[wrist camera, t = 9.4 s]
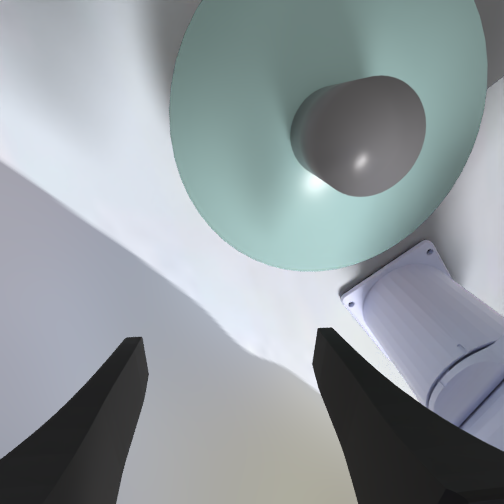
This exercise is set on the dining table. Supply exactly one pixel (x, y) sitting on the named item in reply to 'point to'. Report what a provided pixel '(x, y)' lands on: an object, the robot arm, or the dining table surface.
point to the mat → (493, 36)
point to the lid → (325, 121)
